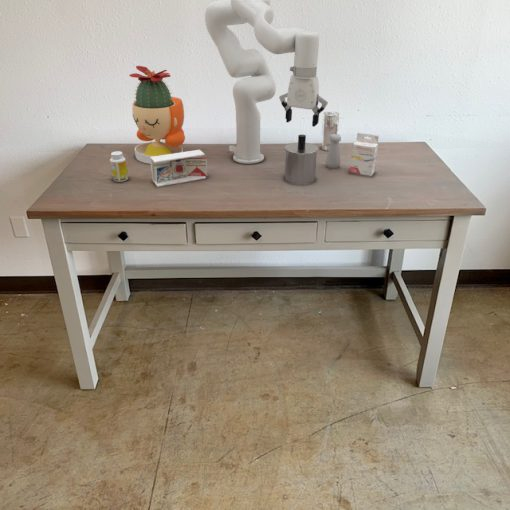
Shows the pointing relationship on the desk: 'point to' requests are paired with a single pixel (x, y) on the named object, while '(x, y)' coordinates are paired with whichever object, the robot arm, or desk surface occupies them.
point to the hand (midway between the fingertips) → (301, 123)
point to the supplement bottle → (118, 167)
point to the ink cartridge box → (364, 154)
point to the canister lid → (301, 147)
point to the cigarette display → (178, 167)
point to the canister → (300, 168)
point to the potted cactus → (157, 116)
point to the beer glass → (329, 127)
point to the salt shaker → (334, 152)
